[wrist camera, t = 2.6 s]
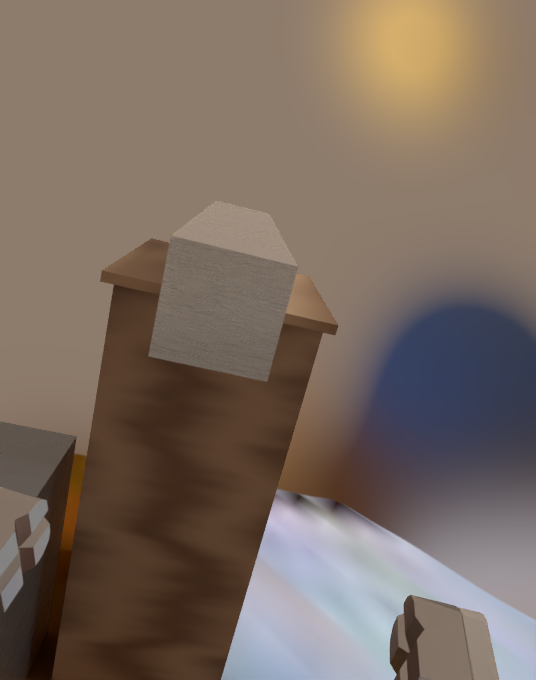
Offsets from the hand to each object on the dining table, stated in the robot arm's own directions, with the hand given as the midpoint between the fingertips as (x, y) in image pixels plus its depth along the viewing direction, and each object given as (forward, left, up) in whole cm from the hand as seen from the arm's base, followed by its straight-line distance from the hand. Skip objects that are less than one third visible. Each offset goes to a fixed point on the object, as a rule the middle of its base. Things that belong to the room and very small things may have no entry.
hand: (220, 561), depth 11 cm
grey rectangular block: (+1, -15, +3) cm, 15 cm away
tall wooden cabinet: (+1, -19, -24) cm, 30 cm away
